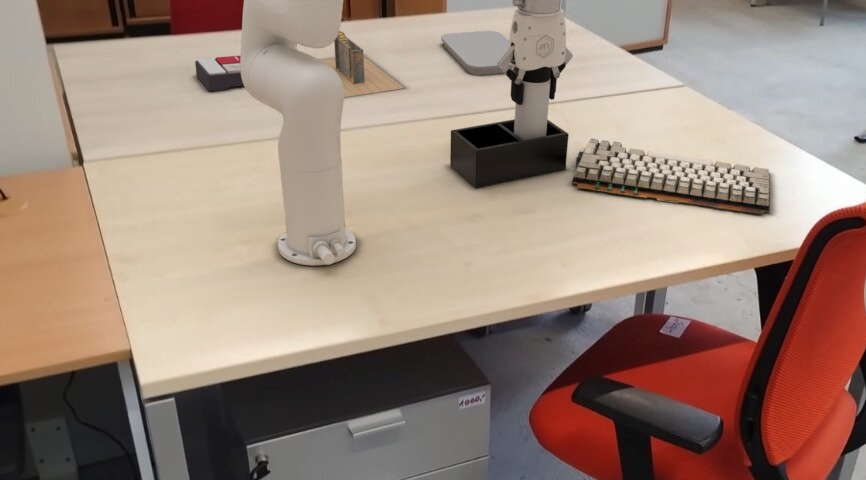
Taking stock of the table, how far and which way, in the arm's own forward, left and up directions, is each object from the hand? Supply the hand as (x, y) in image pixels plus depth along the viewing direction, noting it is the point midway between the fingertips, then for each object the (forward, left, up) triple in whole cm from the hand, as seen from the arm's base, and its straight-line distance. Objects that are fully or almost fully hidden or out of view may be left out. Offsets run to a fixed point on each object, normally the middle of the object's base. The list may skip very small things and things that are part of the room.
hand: (533, 98), depth 178 cm
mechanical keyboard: (-18, -21, -14) cm, 31 cm away
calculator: (+67, +39, -14) cm, 79 cm away
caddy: (0, +5, -13) cm, 14 cm away
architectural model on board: (+60, +14, -14) cm, 63 cm away
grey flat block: (+60, -22, -14) cm, 65 cm away
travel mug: (0, 0, -13) cm, 13 cm away
